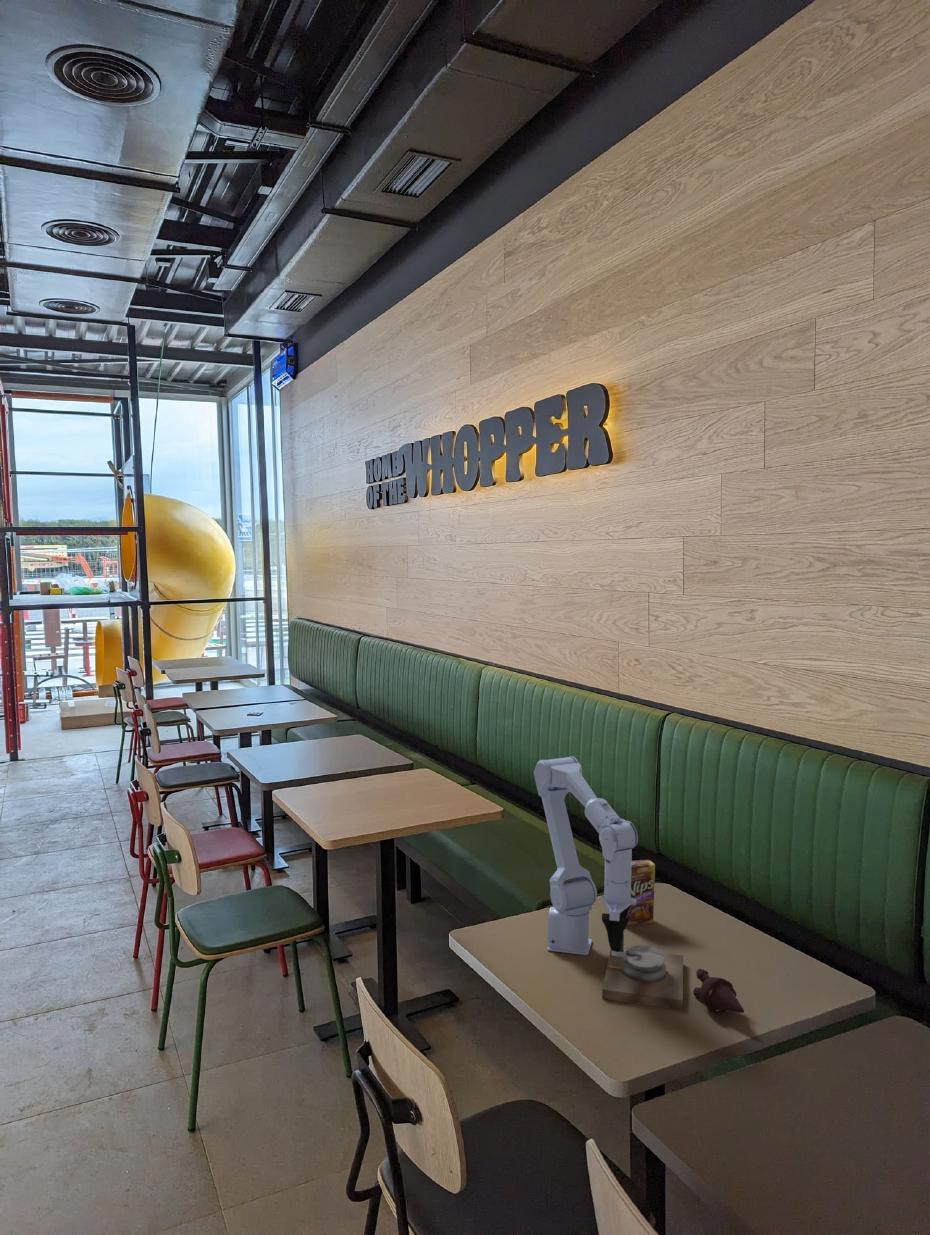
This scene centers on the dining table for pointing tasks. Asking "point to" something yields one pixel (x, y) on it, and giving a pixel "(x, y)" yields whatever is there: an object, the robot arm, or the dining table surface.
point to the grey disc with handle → (641, 957)
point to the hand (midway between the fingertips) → (616, 939)
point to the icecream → (717, 993)
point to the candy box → (642, 892)
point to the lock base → (645, 983)
